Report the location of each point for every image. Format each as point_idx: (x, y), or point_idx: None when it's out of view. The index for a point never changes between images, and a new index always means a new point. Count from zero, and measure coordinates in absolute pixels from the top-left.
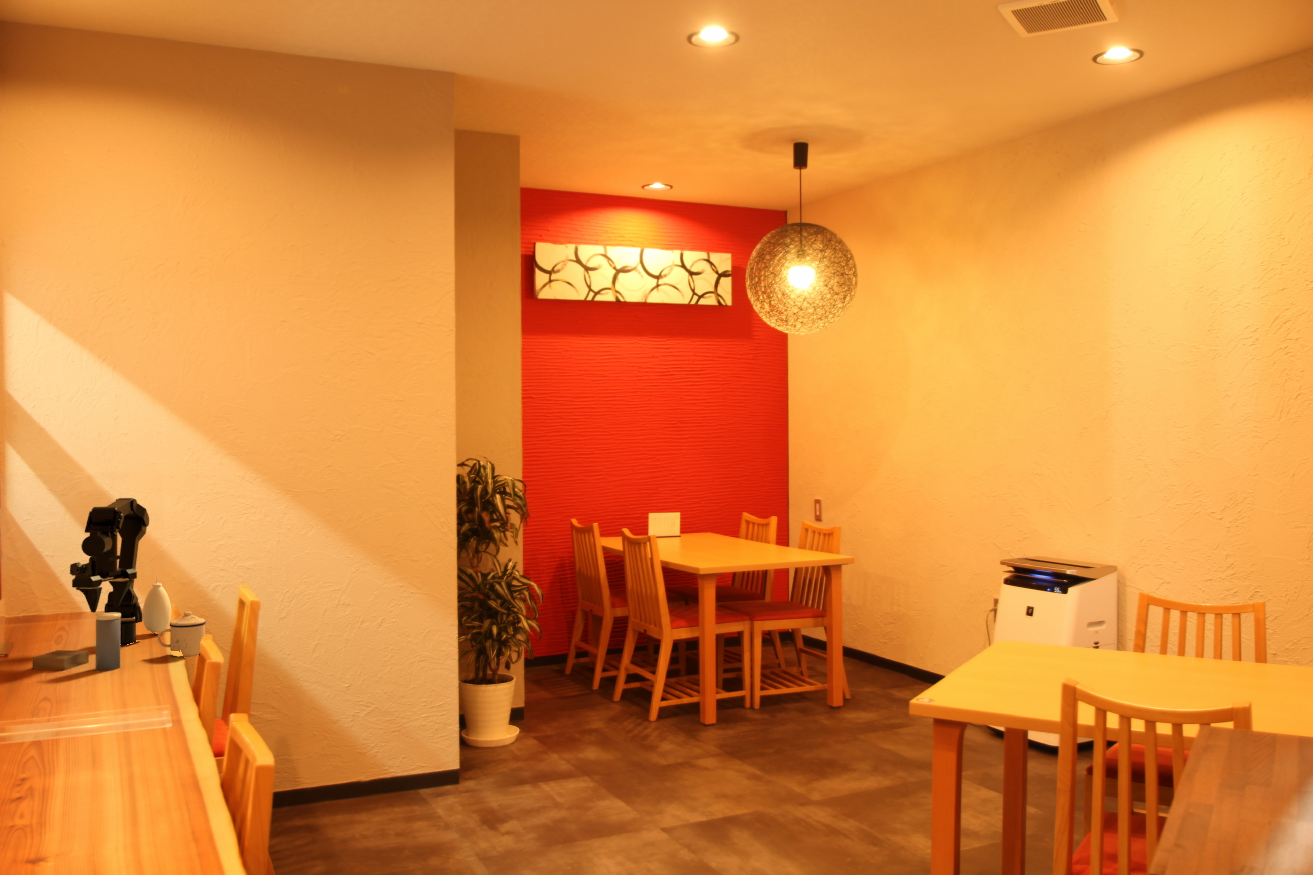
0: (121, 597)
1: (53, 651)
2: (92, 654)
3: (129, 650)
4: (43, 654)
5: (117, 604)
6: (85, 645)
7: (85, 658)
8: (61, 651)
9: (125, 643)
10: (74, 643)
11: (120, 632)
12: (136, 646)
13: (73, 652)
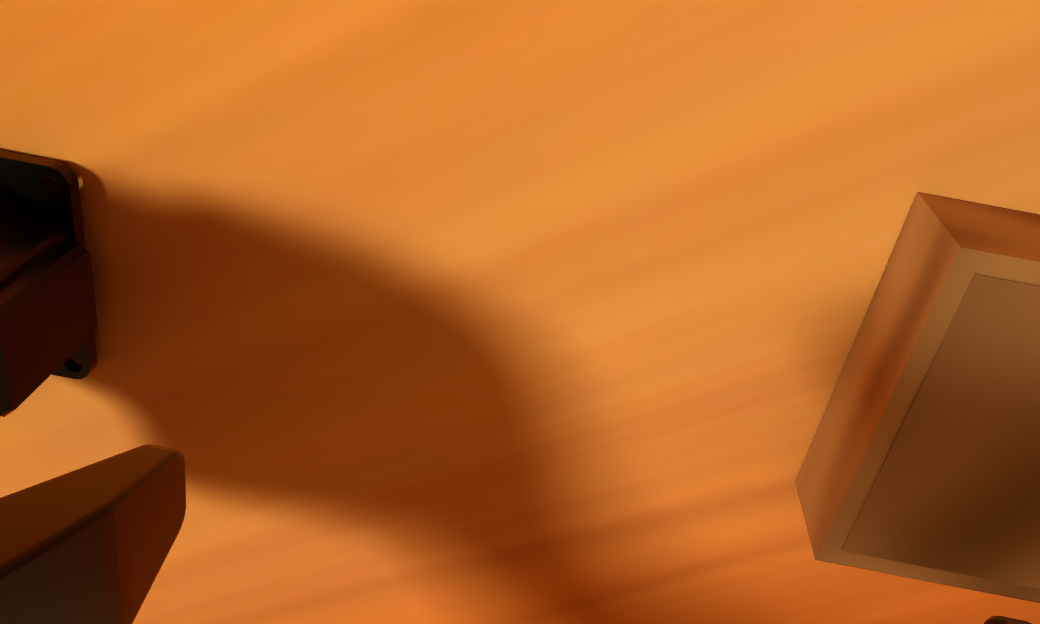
0: (12, 556)
1: (885, 567)
2: (498, 323)
3: (274, 28)
4: (1031, 592)
5: (162, 492)
6: None
7: (993, 223)
8: (918, 502)
9: (35, 204)
10: None
11: (4, 301)
12: (57, 52)
13: (1016, 374)
